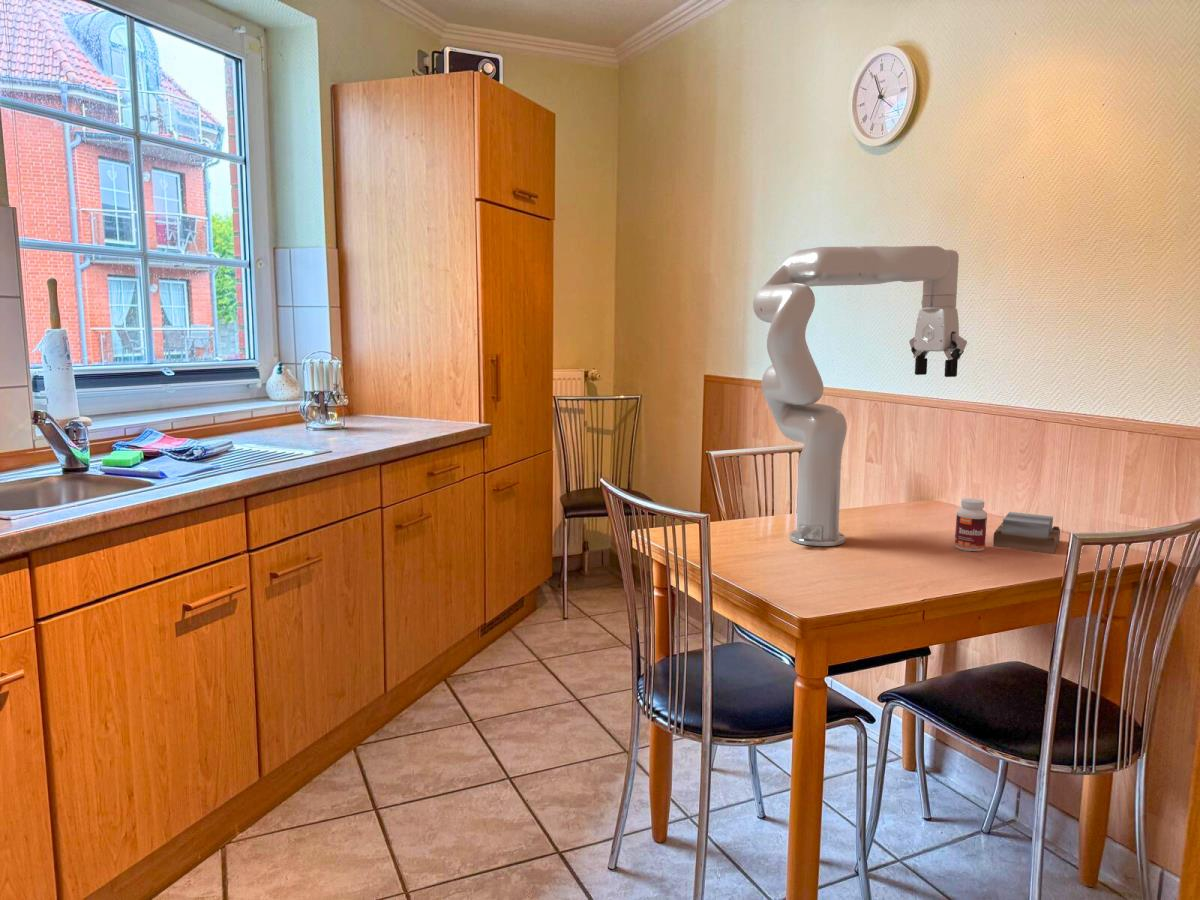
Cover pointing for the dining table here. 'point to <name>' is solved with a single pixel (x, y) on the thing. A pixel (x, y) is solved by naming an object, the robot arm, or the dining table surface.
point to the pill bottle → (971, 525)
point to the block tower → (1027, 533)
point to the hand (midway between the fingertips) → (935, 375)
